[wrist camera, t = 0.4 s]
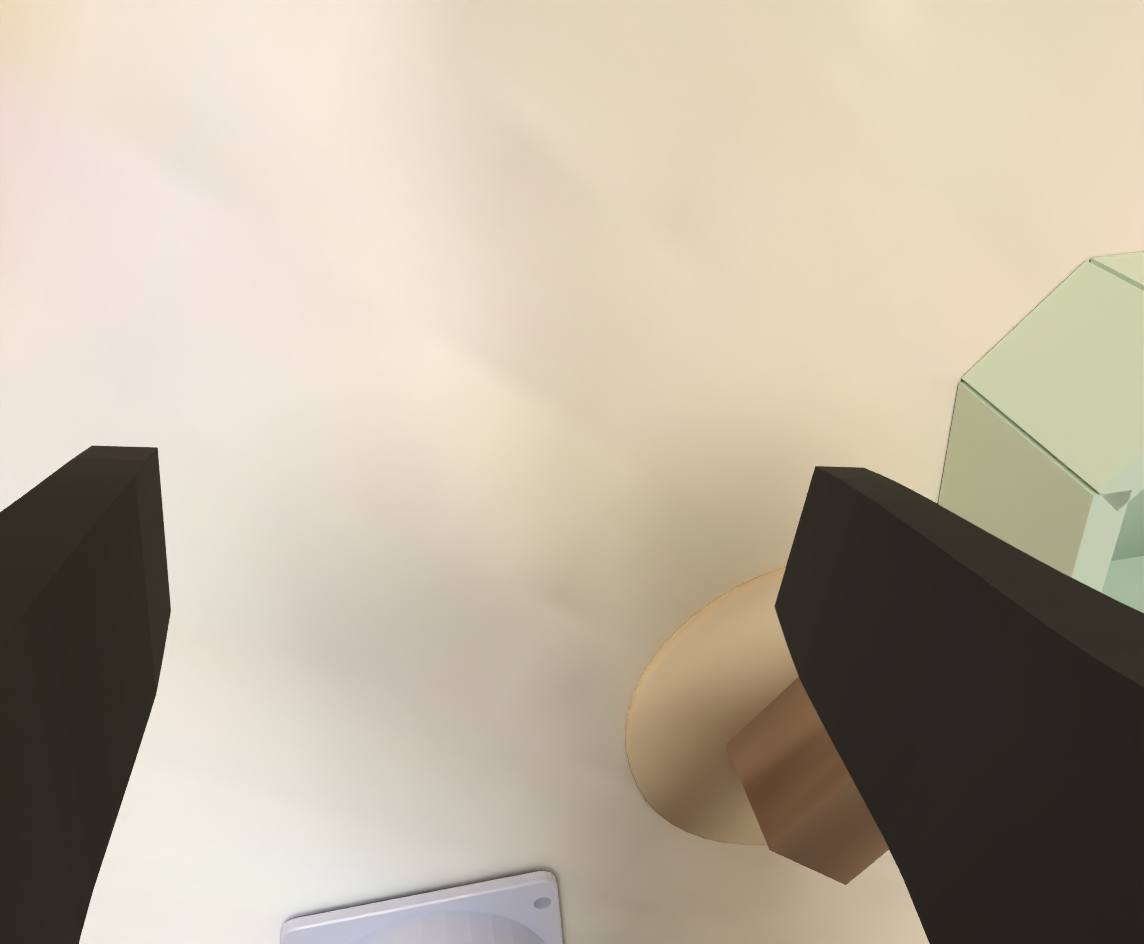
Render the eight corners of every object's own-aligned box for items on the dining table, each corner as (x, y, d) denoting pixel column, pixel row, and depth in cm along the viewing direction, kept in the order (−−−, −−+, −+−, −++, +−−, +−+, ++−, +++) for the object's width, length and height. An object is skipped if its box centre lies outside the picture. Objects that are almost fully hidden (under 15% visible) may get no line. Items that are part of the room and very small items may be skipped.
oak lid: (1040, 649, 29) (1137, 760, 25) (792, 861, 32) (847, 987, 28) (811, 481, 24) (890, 588, 20) (546, 749, 27) (575, 883, 24)
